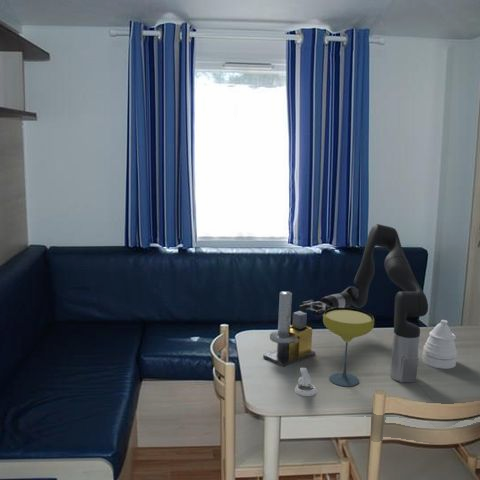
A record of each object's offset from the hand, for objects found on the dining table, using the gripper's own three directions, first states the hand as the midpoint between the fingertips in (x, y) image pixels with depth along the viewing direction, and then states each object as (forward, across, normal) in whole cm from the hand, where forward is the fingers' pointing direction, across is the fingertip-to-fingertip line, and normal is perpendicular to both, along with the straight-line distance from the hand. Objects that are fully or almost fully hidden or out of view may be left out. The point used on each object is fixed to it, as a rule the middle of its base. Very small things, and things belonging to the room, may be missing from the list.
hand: (307, 311), depth 225 cm
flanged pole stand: (+10, 0, +17) cm, 20 cm away
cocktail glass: (+10, +28, +17) cm, 34 cm away
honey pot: (-34, +42, +17) cm, 56 cm away
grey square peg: (+5, 0, +16) cm, 17 cm away
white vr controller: (+28, +24, +17) cm, 41 cm away
